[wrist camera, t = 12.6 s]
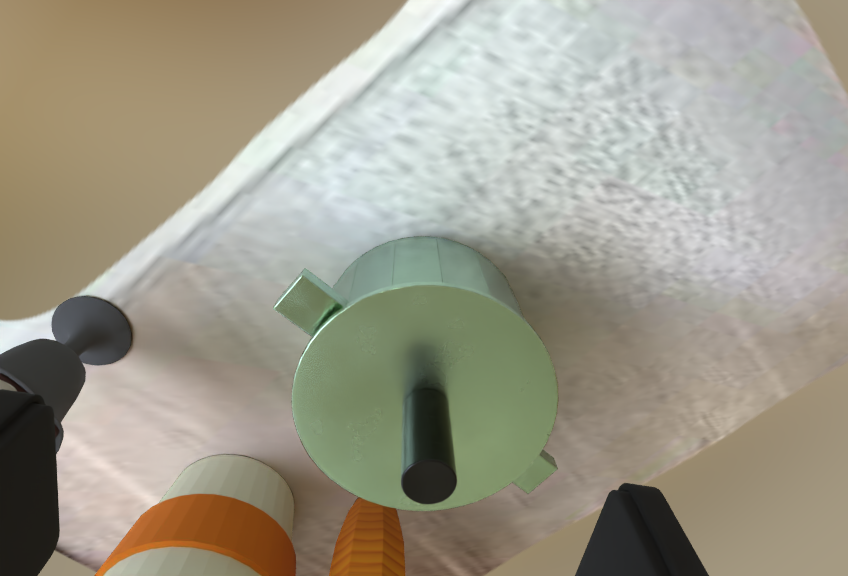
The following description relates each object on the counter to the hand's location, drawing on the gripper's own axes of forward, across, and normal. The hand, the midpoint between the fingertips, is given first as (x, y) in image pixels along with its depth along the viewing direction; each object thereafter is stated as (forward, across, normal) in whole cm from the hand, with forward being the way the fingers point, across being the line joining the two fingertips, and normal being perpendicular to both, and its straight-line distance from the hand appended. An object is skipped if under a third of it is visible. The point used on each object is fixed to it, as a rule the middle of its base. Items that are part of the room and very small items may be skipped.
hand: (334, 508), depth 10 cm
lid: (+18, -4, +9) cm, 20 cm away
